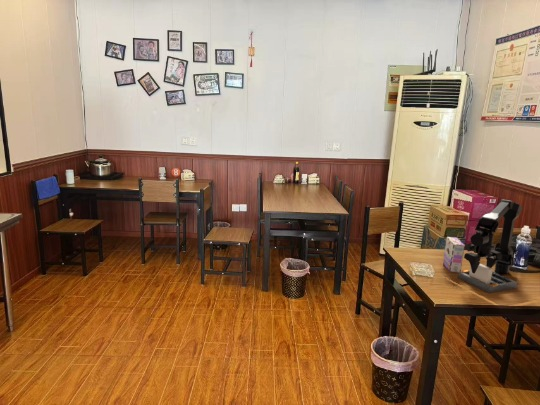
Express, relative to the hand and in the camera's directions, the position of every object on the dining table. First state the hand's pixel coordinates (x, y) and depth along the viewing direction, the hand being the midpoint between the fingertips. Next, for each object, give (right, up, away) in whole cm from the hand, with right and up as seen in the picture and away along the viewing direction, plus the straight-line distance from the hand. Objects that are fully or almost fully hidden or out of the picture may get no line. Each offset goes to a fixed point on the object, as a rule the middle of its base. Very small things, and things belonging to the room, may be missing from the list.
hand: (480, 272), depth 179 cm
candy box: (-3, -3, +23) cm, 23 cm away
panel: (0, -6, +2) cm, 6 cm away
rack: (+5, -7, +4) cm, 9 cm away
